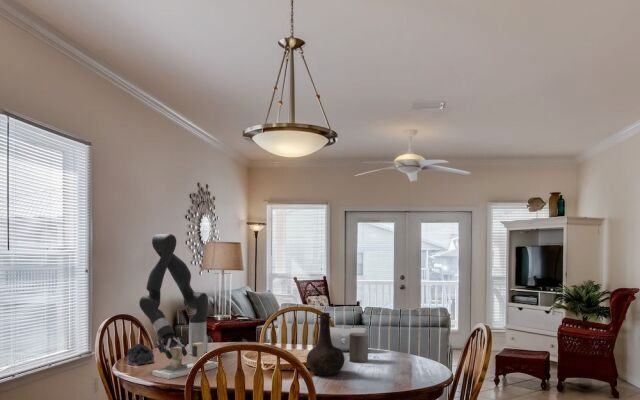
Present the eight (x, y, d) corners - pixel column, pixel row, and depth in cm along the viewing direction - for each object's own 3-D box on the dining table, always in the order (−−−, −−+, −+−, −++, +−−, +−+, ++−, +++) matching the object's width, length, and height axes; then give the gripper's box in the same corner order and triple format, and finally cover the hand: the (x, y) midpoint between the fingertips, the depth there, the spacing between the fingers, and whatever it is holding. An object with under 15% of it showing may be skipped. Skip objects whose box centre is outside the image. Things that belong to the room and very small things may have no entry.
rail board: (202, 363, 290) (203, 339, 291) (218, 367, 283) (219, 342, 284) (152, 375, 267) (152, 348, 267) (168, 379, 259) (169, 352, 260)
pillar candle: (346, 362, 293) (346, 332, 294) (352, 358, 302) (352, 329, 303) (364, 363, 289) (364, 333, 290) (370, 359, 298) (370, 330, 299)
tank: (320, 353, 315) (320, 330, 316) (325, 347, 331) (325, 325, 332) (366, 354, 311) (366, 331, 312) (368, 349, 327) (368, 326, 328)
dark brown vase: (333, 380, 257) (333, 316, 258) (299, 375, 265) (299, 314, 267) (351, 371, 272) (350, 311, 274) (318, 367, 281) (318, 309, 283)
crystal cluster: (153, 366, 289) (155, 345, 291) (125, 365, 286) (127, 344, 287) (153, 362, 302) (155, 343, 303) (126, 362, 298) (128, 342, 300)
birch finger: (177, 367, 273) (177, 346, 274) (182, 368, 271) (182, 347, 271) (169, 369, 269) (170, 347, 270) (174, 370, 267) (174, 348, 268)
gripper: (154, 326, 270) (169, 354, 263) (179, 322, 282) (194, 349, 274) (147, 336, 273) (162, 364, 266) (172, 332, 285) (186, 359, 277)
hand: (178, 356), depth 270 cm, fingers open, 8 cm apart
